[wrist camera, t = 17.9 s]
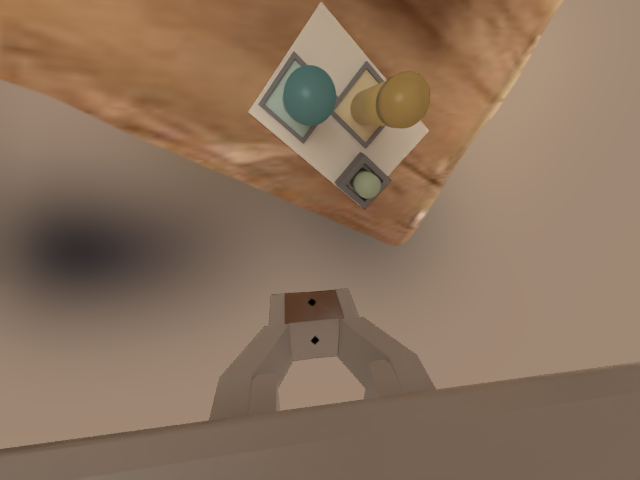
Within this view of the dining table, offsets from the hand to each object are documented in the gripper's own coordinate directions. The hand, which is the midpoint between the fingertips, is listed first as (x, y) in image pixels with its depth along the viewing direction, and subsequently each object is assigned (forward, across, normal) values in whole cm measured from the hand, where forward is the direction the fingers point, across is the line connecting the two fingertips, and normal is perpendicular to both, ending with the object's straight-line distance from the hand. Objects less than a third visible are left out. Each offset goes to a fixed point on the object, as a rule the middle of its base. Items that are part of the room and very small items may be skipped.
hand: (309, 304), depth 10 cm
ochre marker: (+28, -10, -7) cm, 30 cm away
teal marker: (+28, -1, -8) cm, 29 cm away
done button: (+28, -10, +2) cm, 29 cm away
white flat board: (+29, -7, -6) cm, 31 cm away
